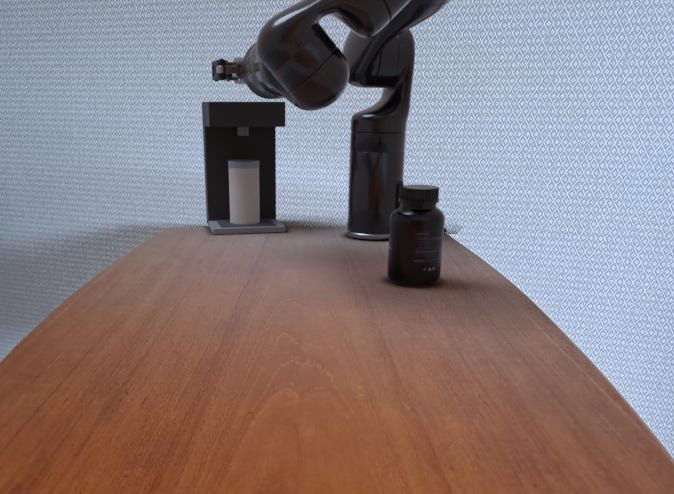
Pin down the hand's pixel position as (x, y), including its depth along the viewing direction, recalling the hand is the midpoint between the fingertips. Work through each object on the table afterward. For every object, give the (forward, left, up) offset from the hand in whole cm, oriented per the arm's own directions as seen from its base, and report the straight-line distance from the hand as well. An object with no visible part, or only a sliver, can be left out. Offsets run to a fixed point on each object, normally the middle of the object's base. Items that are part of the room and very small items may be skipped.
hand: (255, 73), depth 103 cm
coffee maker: (+5, -15, -26) cm, 31 cm away
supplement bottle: (-25, +22, -26) cm, 42 cm away
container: (+5, -15, -25) cm, 29 cm away
